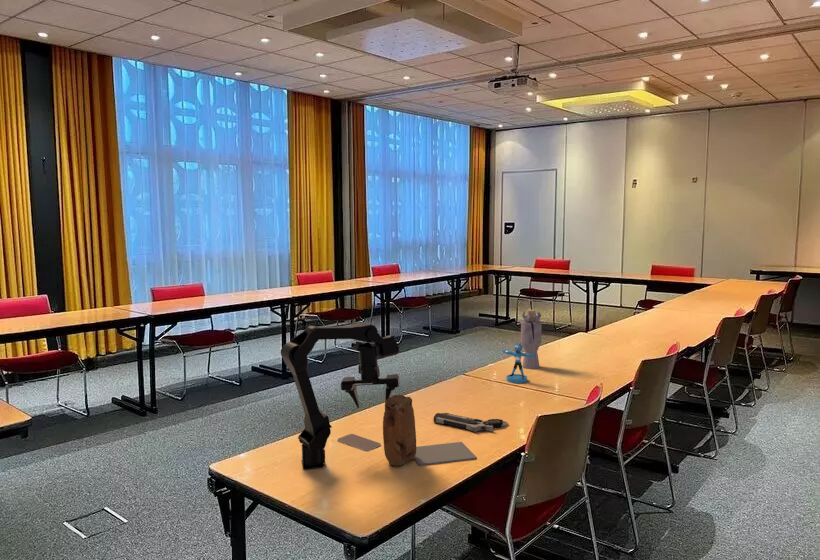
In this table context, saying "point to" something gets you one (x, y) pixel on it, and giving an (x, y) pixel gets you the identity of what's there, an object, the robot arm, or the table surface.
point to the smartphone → (359, 442)
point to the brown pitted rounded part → (399, 430)
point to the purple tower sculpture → (531, 338)
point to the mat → (442, 453)
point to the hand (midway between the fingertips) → (372, 407)
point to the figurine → (517, 377)
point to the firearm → (469, 422)
